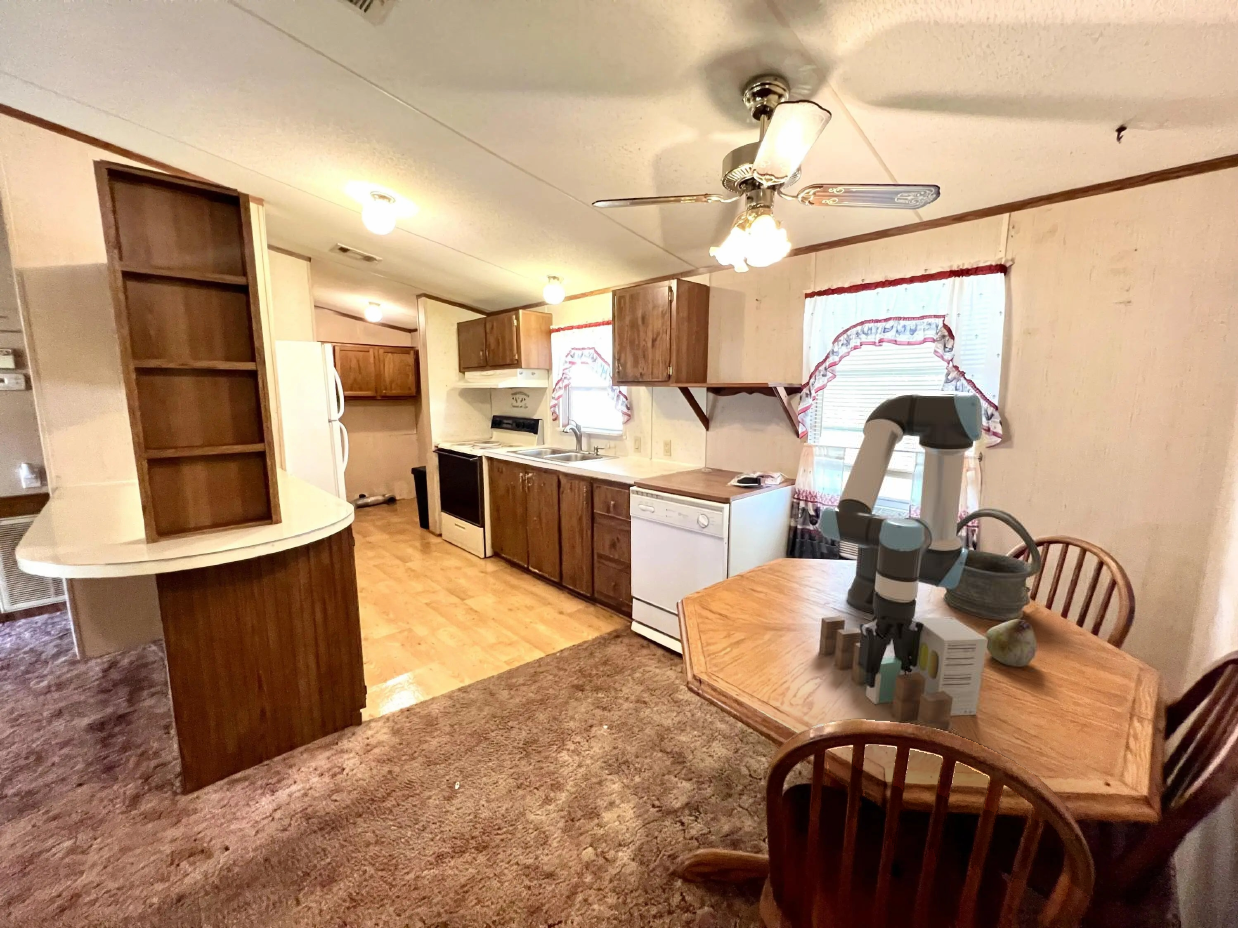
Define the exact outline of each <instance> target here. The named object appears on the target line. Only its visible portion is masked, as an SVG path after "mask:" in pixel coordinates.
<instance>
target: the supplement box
mask: <svg viewBox="0 0 1238 928" xmlns="http://www.w3.org/2000/svg"><path fill="white" fill-rule="evenodd" d="M913 618H914V619H916V620H918V621H919V622H921V623H923V624H924V626H923V628H922V631H921V633H920V640H919V650H918V659H917V665H916V666H915V667H913V666H911V667H910V668H911V669H912V672H910V673H917V672H918V673H919V674H921V675H922V676H923V677H925V678H926V682H925V690H924V694H927V693H934V692H941V691H944V692H945V693H947V694H948V695H950V696H951V697H952V698H953V700H952V707H951V715H950V717H952V716H970V715H971V716H972V715H973V716H975V715H976V714H977V711H978V704H979V697H980V691H981V684H982V677H983V671H984V665H985V661H986V653H987V650H988V649H987V642H988V639H987V638H985V636H983V635H981V634H980V633H979V632H976V631H975V630H974V629H973V628H972V629H971V628H970V627H968V626H967V625H965V624H964V623H962V622H961V621H960V620H958V619H957V618H955V617H954V616H939V617H938V616H936V617H935V616H934V617H913ZM910 658H911V657H910ZM910 673H908V672H907V674H910Z"/></svg>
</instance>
